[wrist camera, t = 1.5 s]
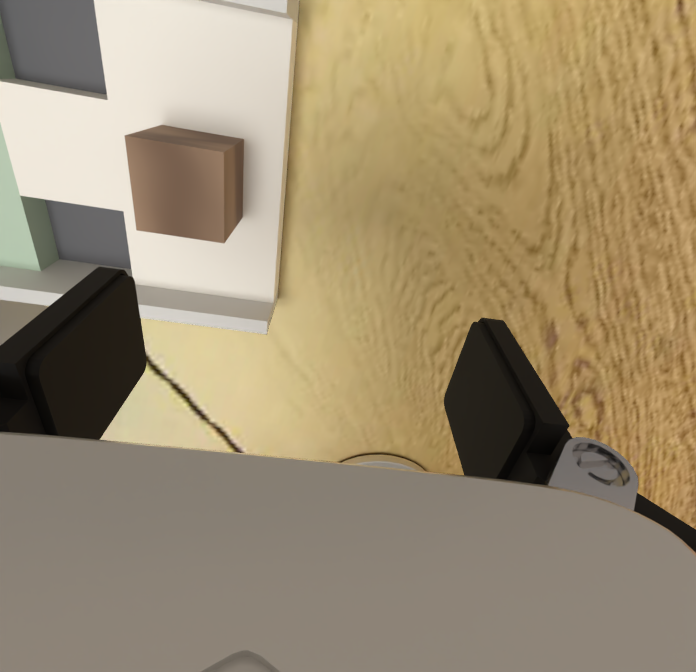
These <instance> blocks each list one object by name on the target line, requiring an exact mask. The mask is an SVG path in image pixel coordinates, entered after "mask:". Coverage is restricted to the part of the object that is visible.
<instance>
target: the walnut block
mask: <svg viewBox="0 0 696 672" xmlns="http://www.w3.org/2000/svg"><path fill="white" fill-rule="evenodd" d="M125 144H126V152H127V160H128V167H129V175H130V183H131V191H132V199H133V207H134V215H135V223H136V230H137V231H144V232H151V233H158V234H164V235H171V236H178V237H184V238H191V239H198V240H205V241H211V242H218V243H225V242H226V240H227V239H228V238H229V236H230V235H231V233H232V232H233V231H234V229H235V228H236V226H237V225H238V223H239V222H240V221H241V219H242V218H243V167H244V139H241V138H235V137H229V136H224V135H218V134H212V133H206V132H200V131H195V130H189V129H183V128H177V127H172V126H166V125H159V126H156V127H152V128H149V129H146V130H142V131H139V132H135V133H132V134H128V135H125Z"/></svg>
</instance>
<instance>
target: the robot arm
mask: <svg viewBox="0 0 696 672" xmlns="http://www.w3.org/2000/svg"><path fill="white" fill-rule="evenodd" d="M145 368H146V353H145V346H144V340H143V333H142V326H141V319H140V313H139V306H138V299H137V293H136V286H135V281H134V278H133V277H132V276H128V274H127V272H126V271H125V270H122V269H115V268H107V267H98V268H96V269H95V270H94V271H92V272H91V273H90V274H89V275H87V276H86V277H85V278H84V279H82V280H81V281H80V282H79V283H77V284H76V285H75V286H74V287H72V288H71V289H70V290H69V291H67V292H66V293H65V294H64V295H62V296H61V297H60V298H59V299H57V300H56V301H55V302H54V303H53V304H51V305H50V306H49V307H48V308H46V309H45V310H44V311H43V312H41V313H40V314H39V315H38V316H36V317H35V318H34V319H33V320H31V321H30V322H29V323H28V324H26V325H25V326H24V327H23V328H21V329H20V330H19V331H18V332H16V333H15V334H14V335H13V336H11V337H10V338H9V339H8V340H6V341H5V342H4V343H3V344H1V345H0V672H696V530H695V529H694V528H692V527H690V526H689V525H687V524H686V523H684V522H683V521H681V520H679V519H678V518H676V517H675V516H673V515H671V514H670V513H668V512H667V511H665V510H664V509H662V508H660V507H659V506H657V505H656V504H654V503H652V502H651V501H649V500H648V499H646V498H645V497H643V496H641V495H640V494H638V493H637V489H638V477H637V475H636V473H635V471H634V469H633V467H632V466H631V465H630V464H629V462H628V461H627V460H626V459H625V458H624V457H623V456H621V455H620V454H619V453H618V452H617V451H615V450H614V449H612V448H610V447H609V446H607V445H605V444H603V443H601V442H598V441H596V440H593V439H589V438H583V437H576V438H572V437H571V435H570V433H569V432H568V430H567V429H568V427H569V424H568V423H567V421H566V419H565V418H564V416H563V415H562V413H561V411H560V410H559V408H558V407H557V405H556V403H555V402H554V400H553V399H552V397H551V395H550V394H549V392H548V391H547V389H546V387H545V386H544V384H543V383H542V381H541V379H540V378H539V376H538V375H537V373H536V371H535V370H534V368H533V367H532V365H531V363H530V362H529V360H528V359H527V357H526V355H525V354H524V352H523V351H522V349H521V347H520V346H519V344H518V343H517V341H516V340H515V338H514V336H513V335H512V333H511V332H510V330H509V328H508V327H507V325H506V324H505V322H504V321H503V320H496V319H488V318H481V319H480V320H479V321H478V322H473V324H472V325H471V327H470V330H469V332H468V335H467V338H466V340H465V343H464V346H463V348H462V351H461V354H460V356H459V359H458V362H457V364H456V367H455V369H454V372H453V375H452V377H451V380H450V383H449V385H448V388H447V391H446V393H445V397H444V406H445V410H446V414H447V417H448V420H449V424H450V427H451V431H452V434H453V437H454V441H455V444H456V448H457V451H458V455H459V458H460V461H461V465H462V468H463V472H464V475H465V476H464V475H454V474H445V473H435V472H426V471H425V470H424V469H423V468H421V467H420V466H418V465H417V464H415V463H413V462H411V461H409V460H406V459H404V458H400V457H396V456H391V455H365V456H359V457H355V458H352V459H348V460H346V461H344V462H341V463H338V462H328V461H317V460H307V459H297V458H287V457H277V456H266V455H256V454H246V453H235V452H225V451H215V450H204V449H193V448H182V447H171V446H161V445H150V444H139V443H128V442H117V441H106V440H100V438H101V437H102V435H103V433H104V432H105V430H106V429H107V427H108V426H109V424H110V423H111V421H112V420H113V418H114V417H115V415H116V414H117V412H118V411H119V409H120V408H121V406H122V405H123V403H124V402H125V400H126V399H127V397H128V396H129V394H130V393H131V391H132V390H133V388H134V387H135V385H136V384H137V382H138V381H139V379H140V378H141V376H142V375H143V373H144V371H145Z"/></svg>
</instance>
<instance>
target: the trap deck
mask: <svg viewBox="0 0 696 672" xmlns="http://www.w3.org/2000/svg"><path fill="white" fill-rule="evenodd" d="M298 15H299V0H0V300H7V301H15V302H23V303H30V304H38V305H46V306H50V305H51V304H53V303H54V302H55V301H56V300H57V299H59V298H60V297H61V296H62V295H64V294H65V293H66V292H67V291H69V290H70V289H71V288H72V287H74V286H75V285H76V284H77V283H79V282H80V281H81V280H82V279H84V278H85V277H86V276H87V275H89V274H90V273H91V272H92V271H94V270H95V269H96V268H98V267H107V268H115V269H122V270H125V271H126V272H127V274H128V276H132V277H133V278H134V281H135V286H136V293H137V299H138V306H139V313H140V318H145V319H153V320H161V321H168V322H176V323H184V324H192V325H199V326H207V327H215V328H222V329H230V330H238V331H245V332H253V333H261V334H267V332H268V329H269V325H270V322H271V319H272V315H273V312H274V309H275V305H276V302H277V298H278V285H279V271H280V258H281V244H282V231H283V217H284V204H285V190H286V177H287V163H288V150H289V136H290V123H291V109H292V96H293V82H294V69H295V55H296V42H297V28H298ZM159 125H166V126H172V127H177V128H183V129H189V130H195V131H200V132H206V133H212V134H218V135H224V136H229V137H235V138H241V139H244V167H243V218H242V219H241V221H240V222H239V223H238V225H237V226H236V228H235V229H234V231H233V232H232V233H231V235H230V236H229V238H228V239H227V240H226V242H225V243H218V242H211V241H205V240H198V239H191V238H184V237H178V236H171V235H164V234H158V233H151V232H144V231H137V230H136V223H135V215H134V207H133V199H132V191H131V183H130V175H129V167H128V160H127V152H126V144H125V135H128V134H132V133H135V132H139V131H142V130H146V129H149V128H152V127H156V126H159Z"/></svg>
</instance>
